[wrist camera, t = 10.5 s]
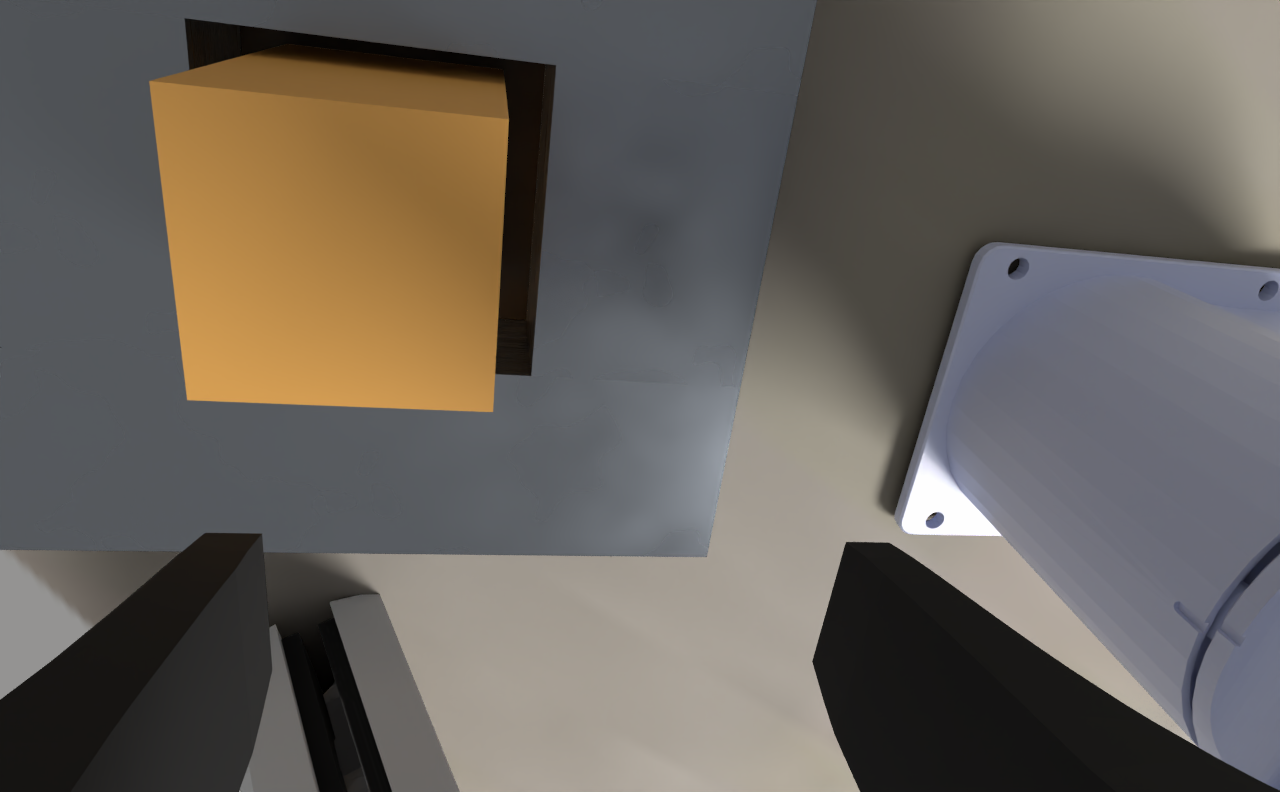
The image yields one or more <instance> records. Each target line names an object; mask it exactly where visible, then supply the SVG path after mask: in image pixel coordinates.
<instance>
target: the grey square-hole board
mask: <svg viewBox="0 0 1280 792" xmlns="http://www.w3.org/2000/svg"><path fill="white" fill-rule="evenodd" d="M816 3H817V0H0V550H83V551H179V552H182V551H183V550H185V549H186V548H187V547H188V546H190V545H191V544H192V543H193V542H194V541H196V540H197V539H198V538H199V537H200V536H202V535H203V534H204V533H260V534H262V539H263V552H274V553H369V554H464V555H560V556H655V557H707V553H708V548H709V543H710V538H711V532H712V527H713V522H714V517H715V512H716V507H717V502H718V497H719V492H720V487H721V482H722V477H723V472H724V467H725V462H726V457H727V452H728V447H729V442H730V437H731V432H732V426H733V421H734V416H735V411H736V406H737V401H738V396H739V391H740V386H741V381H742V376H743V371H744V366H745V361H746V356H747V351H748V346H749V341H750V336H751V331H752V326H753V321H754V315H755V310H756V305H757V300H758V295H759V290H760V285H761V280H762V275H763V270H764V265H765V260H766V255H767V250H768V245H769V240H770V235H771V230H772V225H773V220H774V215H775V209H776V204H777V199H778V194H779V189H780V184H781V179H782V174H783V169H784V164H785V159H786V154H787V149H788V144H789V139H790V134H791V129H792V124H793V119H794V114H795V109H796V103H797V98H798V93H799V88H800V83H801V78H802V73H803V68H804V63H805V58H806V53H807V48H808V43H809V38H810V33H811V28H812V23H813V18H814V13H815V8H816ZM240 25H242V26H250V27H258V28H266V29H274V30H282V31H290V32H298V33H305V34H313V35H321V36H329V37H337V38H345V39H353V40H361V41H369V42H377V43H384V44H392V45H400V46H408V47H416V48H424V49H432V50H440V51H448V52H456V53H464V54H471V55H479V56H487V57H495V58H503V59H511V60H519V61H527V62H535V63H543V64H545V74H544V88H543V101H542V114H541V127H540V141H539V154H538V167H537V181H536V194H535V207H534V220H533V234H532V247H531V260H530V273H529V287H528V300H527V313H526V321H525V320H510V319H498V331H497V349H496V368H495V386H494V404H493V412H475V411H450V410H424V409H399V408H373V407H348V406H322V405H297V404H271V403H246V402H220V401H195V400H187V394H186V386H185V378H184V369H183V361H182V352H181V344H180V336H179V327H178V319H177V310H176V302H175V294H174V285H173V277H172V269H171V260H170V252H169V243H168V235H167V227H166V218H165V210H164V201H163V193H162V185H161V176H160V168H159V159H158V151H157V143H156V134H155V126H154V118H153V109H152V101H151V92H150V84H149V81H151V80H155V79H158V78H162V77H166V76H170V75H173V74H177V73H181V72H184V71H188V70H192V69H195V68H199V67H203V66H207V65H210V64H214V63H218V62H221V61H225V60H229V59H232V58H236V57H240V56H242V52H241V37H240Z"/></svg>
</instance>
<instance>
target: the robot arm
mask: <svg viewBox="0 0 1280 792" xmlns="http://www.w3.org/2000/svg"><path fill="white" fill-rule="evenodd" d="M1018 258H1019V259H1020V261H1019V266H1018V268H1017V269H1016V270H1015V271H1014V272H1013V273H1011V274H1008V267H1009V266H1010V264H1011V262H1013V261H1014V260H1015V259H1018ZM1264 284H1265V286H1264V288H1263V289H1262V291H1261V292H1259V290H1260V289H1261V287H1262V286H1263V285H1264ZM935 512H937V513H936V515H935V516H934V517H933V518H932V519H930V520H926V519H927V518H928V516H929V515H931V514H932V513H935ZM895 521H896V523H897V524H898V526H899V527H900V528H901V530H902V531H904V532H905V533H907V534H912V535H968V536H1003V537H1004V538H1005V539H1006V540H1007V541H1008V543H1009V544H1010V545H1011V546H1012V547H1013V548H1014V549H1015V550H1016V551H1017V552H1018V553H1019V554H1020V555H1021V557H1022V558H1023V559H1024V560H1025V561H1026V562H1027V563H1028V564H1029V565H1030V566H1031V567H1032V568H1033V569H1034V571H1035V572H1036V573H1037V574H1038V575H1039V576H1040V577H1041V578H1042V579H1043V580H1044V581H1045V582H1046V584H1047V585H1048V586H1049V587H1050V588H1051V589H1052V590H1053V591H1054V592H1055V593H1056V594H1057V595H1058V596H1059V598H1060V599H1061V600H1062V601H1063V602H1064V603H1065V604H1066V605H1067V606H1068V607H1069V608H1070V609H1071V610H1072V612H1073V613H1074V614H1075V615H1076V616H1077V617H1078V618H1079V619H1080V620H1081V621H1082V622H1083V623H1084V624H1085V626H1086V627H1087V628H1088V629H1089V630H1090V631H1091V632H1092V633H1093V634H1094V635H1095V636H1096V637H1097V638H1098V640H1099V641H1100V642H1101V643H1102V644H1103V645H1104V646H1105V647H1106V648H1107V649H1108V650H1109V651H1110V652H1111V654H1112V655H1113V656H1114V657H1115V658H1116V659H1117V660H1118V661H1119V662H1120V663H1121V664H1122V665H1123V666H1124V668H1125V669H1126V670H1127V671H1128V672H1129V673H1130V674H1131V675H1132V676H1133V677H1134V678H1135V679H1136V680H1137V682H1138V683H1139V684H1140V685H1141V686H1142V687H1143V688H1144V689H1145V690H1146V691H1147V692H1148V693H1149V695H1150V696H1151V697H1152V698H1153V699H1154V700H1155V701H1156V702H1157V703H1158V704H1159V705H1160V706H1161V707H1162V709H1163V710H1164V711H1165V712H1166V713H1167V714H1168V715H1169V716H1170V717H1171V718H1172V719H1173V720H1174V721H1175V723H1176V724H1177V725H1178V726H1179V727H1180V728H1181V729H1182V730H1183V731H1184V732H1185V733H1186V734H1187V735H1188V737H1189V738H1190V739H1191V740H1192V741H1193V742H1194V743H1195V744H1196V745H1197V746H1198V747H1197V746H1195V745H1193V744H1192V743H1190V742H1188V741H1186V740H1185V739H1183V738H1181V737H1179V736H1178V735H1176V734H1174V733H1172V732H1171V731H1169V730H1167V729H1165V728H1164V727H1162V726H1160V725H1158V724H1157V723H1155V722H1153V721H1151V720H1150V719H1148V718H1146V717H1145V716H1143V715H1142V714H1140V713H1138V712H1137V711H1135V710H1133V709H1132V708H1130V707H1128V706H1127V705H1125V704H1124V703H1122V702H1120V701H1119V700H1117V699H1116V698H1114V697H1113V696H1111V695H1110V694H1108V693H1106V692H1105V691H1103V690H1102V689H1100V688H1099V687H1097V686H1096V685H1094V684H1093V683H1091V682H1090V681H1088V680H1086V679H1085V678H1083V677H1082V676H1080V675H1079V674H1077V673H1076V672H1074V671H1073V670H1071V669H1069V668H1068V667H1067V666H1065V665H1064V664H1062V663H1061V662H1059V661H1058V660H1056V659H1055V658H1053V657H1052V656H1050V655H1049V654H1047V653H1046V652H1045V651H1043V650H1042V649H1040V648H1039V647H1037V646H1036V645H1034V644H1033V643H1032V642H1030V641H1029V640H1027V639H1026V638H1024V637H1023V636H1022V635H1020V634H1019V633H1017V632H1016V631H1015V630H1013V629H1012V628H1010V627H1009V626H1008V625H1006V624H1005V623H1003V622H1002V621H1000V620H999V619H998V618H996V617H995V616H994V615H992V614H991V613H989V612H988V611H987V610H985V609H984V608H982V607H981V606H980V605H978V604H977V603H976V602H974V601H973V600H971V599H970V598H969V597H967V596H966V595H965V594H963V593H962V592H960V591H959V590H958V589H956V588H955V587H954V586H952V585H951V584H949V583H948V582H947V581H945V580H944V579H942V578H941V577H940V576H938V575H937V574H935V573H934V572H933V571H931V570H930V569H928V568H927V567H925V566H924V565H923V564H921V563H920V562H918V561H917V560H915V559H914V558H912V557H911V556H909V555H908V554H906V553H905V552H903V551H902V550H900V549H898V548H897V547H895V546H893V545H892V544H890V543H874V542H846V544H845V548H844V551H843V555H842V558H841V562H840V565H839V569H838V573H837V576H836V580H835V583H834V587H833V590H832V594H831V597H830V601H829V604H828V608H827V612H826V615H825V619H824V622H823V626H822V629H821V633H820V636H819V640H818V644H817V647H816V651H815V654H814V658H813V661H812V662H813V665H814V669H815V672H816V676H817V679H818V682H819V686H820V689H821V693H822V696H823V700H824V703H825V706H826V709H827V712H828V715H829V718H830V722H831V725H832V728H833V731H834V734H835V736H836V738H837V741H838V743H839V745H840V748H841V750H842V752H843V754H844V757H845V759H846V761H847V763H848V766H849V768H850V770H851V772H852V774H853V777H854V779H855V781H856V783H857V786H858V788H859V790H860V792H1280V269H1278V268H1268V267H1257V266H1246V265H1236V264H1225V263H1215V262H1204V261H1193V260H1183V259H1172V258H1162V257H1151V256H1141V255H1130V254H1119V253H1109V252H1098V251H1088V250H1077V249H1067V248H1056V247H1045V246H1035V245H1024V244H1014V243H1003V242H993V243H989V244H987V245H985V246H983V247H982V248H981V249H980V250H979V251H978V252H977V253H976V254H975V256H974V258H973V260H972V263H971V266H970V270H969V273H968V276H967V279H966V283H965V286H964V289H963V292H962V296H961V299H960V302H959V305H958V309H957V312H956V315H955V318H954V322H953V325H952V328H951V332H950V335H949V338H948V341H947V345H946V348H945V351H944V354H943V358H942V361H941V364H940V367H939V371H938V374H937V377H936V381H935V384H934V387H933V390H932V394H931V397H930V400H929V403H928V407H927V410H926V413H925V416H924V420H923V423H922V426H921V429H920V433H919V436H918V439H917V443H916V446H915V449H914V452H913V456H912V459H911V462H910V465H909V469H908V472H907V475H906V478H905V482H904V485H903V488H902V491H901V495H900V498H899V501H898V505H897V508H896V511H895ZM271 674H272V657H271V644H270V631H269V618H268V605H267V592H266V578H265V565H264V552H263V539H262V534H260V533H204V534H203V535H202V536H200V537H199V538H198V539H197V540H196V541H194V542H193V543H192V544H191V545H190V546H188V547H187V548H186V549H185V550H183V551H182V552H181V553H180V554H179V555H177V556H176V557H175V558H174V559H173V560H172V561H170V562H169V563H168V564H167V565H166V566H165V567H163V568H162V569H161V570H160V571H159V572H158V573H156V574H155V575H154V576H153V577H152V578H151V579H149V580H148V581H147V582H146V583H145V584H144V585H142V586H141V587H140V588H139V589H138V590H137V591H135V592H134V593H133V594H132V595H131V596H130V597H128V598H127V599H126V600H125V601H124V602H123V603H121V604H120V605H119V606H118V607H117V608H116V609H114V610H113V611H112V612H111V613H110V614H108V615H107V616H106V617H105V618H103V619H102V620H101V621H100V622H99V623H97V624H96V625H95V626H94V627H93V628H91V629H90V630H89V631H88V632H86V633H85V634H84V635H83V636H82V637H80V638H79V639H78V640H77V641H75V642H74V643H73V644H72V645H71V646H69V647H68V648H67V649H66V650H65V651H63V652H62V653H61V654H60V655H58V656H57V657H56V658H55V659H53V660H52V661H51V662H50V663H48V664H47V665H46V666H44V667H43V668H42V669H40V670H39V671H38V672H37V673H35V674H34V675H33V676H31V677H30V678H28V679H27V680H26V681H25V682H23V683H22V684H21V685H19V686H18V687H17V688H16V689H14V690H13V691H11V692H10V693H9V694H7V695H6V696H5V697H3V698H2V699H1V700H0V792H239V790H240V787H241V784H242V782H243V779H244V776H245V773H246V771H247V768H248V765H249V762H250V759H251V757H252V754H253V750H254V746H255V742H256V738H257V734H258V730H259V726H260V722H261V718H262V713H263V709H264V705H265V700H266V696H267V692H268V687H269V683H270V678H271Z"/></svg>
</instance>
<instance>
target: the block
mask: <svg viewBox="0 0 1280 792" xmlns="http://www.w3.org/2000/svg"><path fill="white" fill-rule="evenodd" d="M149 84H150V92H151V101H152V109H153V118H154V126H155V134H156V143H157V151H158V159H159V168H160V176H161V185H162V193H163V201H164V210H165V218H166V227H167V235H168V243H169V252H170V260H171V269H172V277H173V285H174V294H175V302H176V310H177V319H178V327H179V336H180V344H181V352H182V361H183V369H184V378H185V386H186V394H187V400H195V401H220V402H246V403H271V404H297V405H322V406H348V407H373V408H399V409H424V410H450V411H475V412H493V404H494V386H495V368H496V349H497V331H498V312H499V294H500V275H501V257H502V239H503V220H504V202H505V183H506V165H507V147H508V128H509V115H508V106H507V97H506V87H505V78H504V69H497V68H488V67H480V66H471V65H463V64H455V63H446V62H438V61H429V60H421V59H412V58H404V57H395V56H387V55H378V54H370V53H361V52H353V51H345V50H336V49H328V48H319V47H311V46H302V45H294V44H284V45H281V46H277V47H273V48H269V49H266V50H262V51H258V52H255V53H251V54H247V55H244V56H240V57H236V58H232V59H229V60H225V61H221V62H218V63H214V64H210V65H207V66H203V67H199V68H195V69H192V70H188V71H184V72H181V73H177V74H173V75H170V76H166V77H162V78H158V79H155V80H151V81H149Z"/></svg>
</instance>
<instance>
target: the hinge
mask: <svg viewBox="0 0 1280 792" xmlns="http://www.w3.org/2000/svg"><path fill="white" fill-rule="evenodd" d="M330 606H331V609H332V612H333V615H334V618H332V619H329V620H327V621H325V622H323V623H320V624H318V627H319V630H320V634H321V637H322V640H323V643H324V647H325V650H326V653H327V656H328V660H329V663H330V666H331V670H332V673H333V676H334V679H335V682H334V683H333V685H332V686H331V687H330V688H329V689H328V690H327V691H326V692H325V693H324V695H323V694H322V690H321V687H320V683H319V680H318V678H317V675H316V673H315V670H314V668H313V666H312V663H311V661H310V658H309V656H308V653H307V651H306V649H305V646H304V644H303V641H302V639H301V636H300V634H299V633H296V634H294V635H291V636H289V637H286V638H284V639H282V638H281V636H280V633H279V631H278V629H277V627H276V624H275V625H273V626H271V627H270V628H269V631H270V644H271V657H272V674H271V678H270V683H269V687H268V692H267V696H266V700H265V705H264V709H263V713H262V718H261V722H260V726H259V730H258V734H257V738H256V742H255V746H254V750H253V754H252V757H251V759H250V762H249V765H248V768H247V771H246V773H245V776H244V779H243V782H242V784H241V787H240V791H241V792H460V791H459V789H458V786H457V784H456V781H455V779H454V776H453V774H452V772H451V769H450V767H449V764H448V762H447V759H446V757H445V754H444V752H443V749H442V747H441V744H440V742H439V739H438V737H437V735H436V732H435V730H434V727H433V725H432V722H431V720H430V717H429V715H428V712H427V710H426V707H425V705H424V702H423V700H422V698H421V695H420V693H419V690H418V688H417V685H416V683H415V680H414V678H413V675H412V673H411V670H410V668H409V665H408V663H407V661H406V658H405V656H404V653H403V651H402V648H401V646H400V643H399V641H398V638H397V636H396V633H395V631H394V628H393V626H392V624H391V621H390V619H389V616H388V614H387V611H386V609H385V606H384V604H383V601H382V599H381V596H380V594H368V595H357V596H353V597H348V598H344V599H339V600H335V601H331V602H330Z"/></svg>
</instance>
